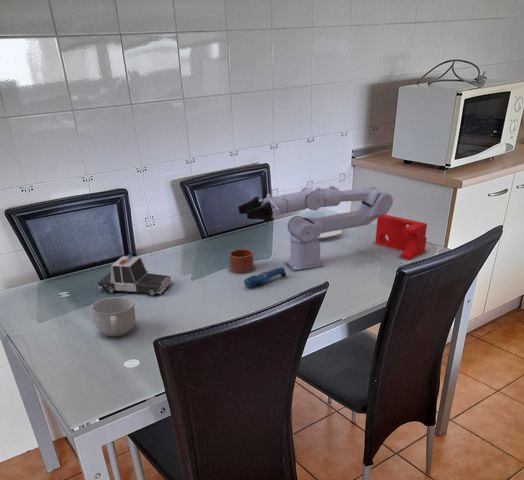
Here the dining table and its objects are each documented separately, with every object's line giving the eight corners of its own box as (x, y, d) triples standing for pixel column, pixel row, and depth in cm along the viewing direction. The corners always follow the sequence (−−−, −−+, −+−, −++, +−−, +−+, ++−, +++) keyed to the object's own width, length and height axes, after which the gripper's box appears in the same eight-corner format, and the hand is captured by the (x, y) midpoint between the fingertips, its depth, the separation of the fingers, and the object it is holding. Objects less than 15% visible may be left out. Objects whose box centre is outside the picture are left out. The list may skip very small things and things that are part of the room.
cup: (249, 263, 172) (248, 247, 170) (256, 271, 166) (255, 255, 163) (227, 266, 170) (226, 251, 168) (234, 274, 164) (232, 258, 161)
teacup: (101, 322, 138) (95, 296, 134) (141, 320, 139) (136, 293, 135) (91, 348, 127) (84, 320, 122) (134, 345, 127) (129, 317, 123)
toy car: (160, 297, 151) (155, 265, 146) (98, 293, 156) (91, 262, 150) (172, 283, 160) (168, 253, 155) (113, 280, 164) (107, 251, 159)
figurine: (280, 276, 163) (243, 290, 156) (277, 265, 162) (240, 279, 155) (289, 276, 159) (251, 291, 152) (286, 264, 158) (248, 279, 151)
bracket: (428, 222, 170) (412, 230, 164) (424, 251, 176) (408, 259, 170) (383, 213, 182) (367, 219, 176) (381, 240, 187) (365, 247, 181)
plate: (284, 229, 202) (284, 224, 201) (330, 224, 205) (330, 219, 204) (299, 244, 186) (299, 239, 185) (348, 239, 189) (348, 233, 188)
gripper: (274, 187, 160) (234, 195, 157) (292, 195, 148) (249, 204, 145) (276, 209, 164) (236, 217, 160) (294, 219, 152) (252, 228, 148)
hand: (243, 212), depth 153 cm, fingers open, 7 cm apart
